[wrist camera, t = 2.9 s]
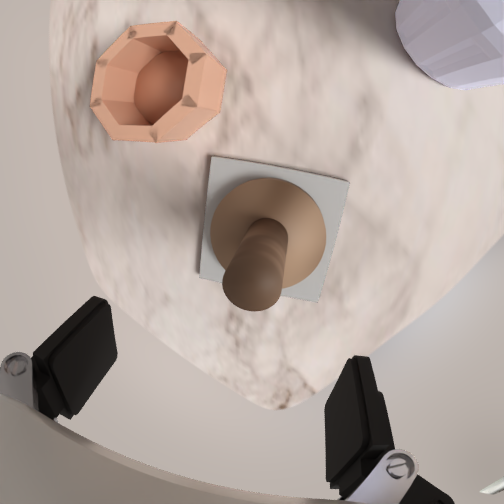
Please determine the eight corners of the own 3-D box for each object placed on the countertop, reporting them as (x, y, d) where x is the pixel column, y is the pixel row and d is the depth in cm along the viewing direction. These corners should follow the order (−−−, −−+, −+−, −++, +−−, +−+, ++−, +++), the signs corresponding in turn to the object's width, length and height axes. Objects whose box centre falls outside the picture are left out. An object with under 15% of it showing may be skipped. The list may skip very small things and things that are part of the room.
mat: (348, 181, 20) (349, 182, 19) (317, 299, 24) (317, 302, 23) (213, 155, 21) (211, 156, 20) (201, 274, 25) (199, 278, 24)
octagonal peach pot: (232, 42, 17) (213, 19, 13) (216, 143, 20) (192, 146, 16) (137, 44, 18) (102, 30, 13) (124, 135, 21) (86, 139, 17)
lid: (336, 190, 20) (357, 223, 13) (310, 292, 23) (311, 361, 16) (220, 168, 21) (177, 188, 13) (209, 271, 24) (172, 330, 17)
